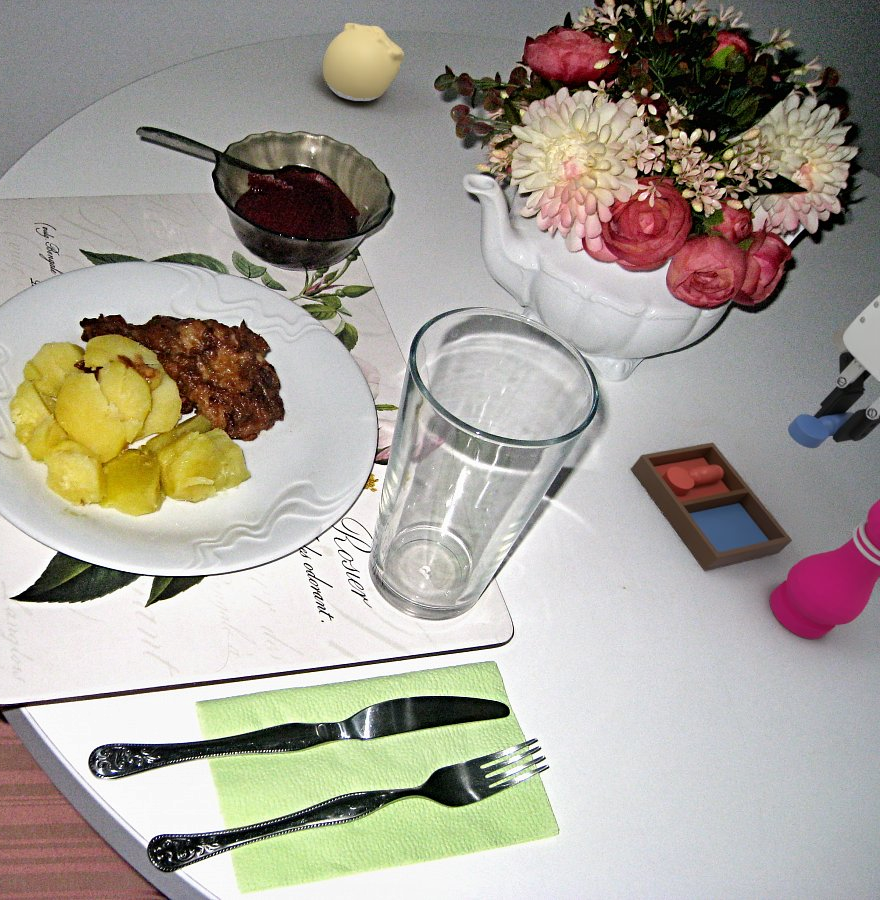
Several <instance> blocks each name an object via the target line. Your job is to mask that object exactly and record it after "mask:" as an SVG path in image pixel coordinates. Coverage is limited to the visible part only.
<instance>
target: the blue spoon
mask: <svg viewBox="0 0 880 900" xmlns="http://www.w3.org/2000/svg"><path fill="white" fill-rule="evenodd" d="M854 413H855V412H851V411H846V412H845V413H840V414H834V415H828V416H823V417H820V418H819V419H817V418H816V417H814V415H811V414H807V413H802V414H799V415H797V416H796V417H795V418H794V419H793V421H792V422H790V424H789V425H788V427H787V432H788V435H789V436H790V437H791V438H792V440H794V441H795V442H796V443H797V444H799V445H801V446H802V447H804V448H807V449H817V448H819V447H821V445H823V443H824V442H825V441H826V440H827V439H828V438H829V437H833V435H834V434H835V433H836V432H837V430H838V429H839V428H840V427H841V426H842V425H843V424H844V423H845V422H846V421H847V420H848V419H849V418H850V417H851V416H852V415H853V414H854Z"/></svg>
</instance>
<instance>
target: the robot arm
mask: <svg viewBox="0 0 880 900" xmlns="http://www.w3.org/2000/svg"><path fill="white" fill-rule="evenodd" d="M831 339H832V342H833V345H834V347H835V349H836V352H837V354H839V357H838V361H839V363H838V365H839V366H838V367H839V375H838V376H837V377H836V378H835V385H836V386H835V387H834V388H833V390H831V392H829V394H828V395H827V396H826V397H825V398H824V399H822V401H821V402H820V404H819V405H820V408H819V409H818V410H817V411H816V413H814V415H813V416H814V417H816V418H817V419H819V418H820V417H823V416H828V415H834V414H840V413H846V412H848V411H849V410H850V408H852V407H853V406H854V405H855V404H856V402H858V401H859V399H861V397H862V396H863V395H864V394H865V392H866V388H865V385H866V384H867V383H868V382H869V381H870V380H871V379H872V378H874V379H875V380H876V381H877V382H878V383H879V384H880V294H879V295H878V296H876V297H875V299H874V300H872V301H871V302H870V303H869V304H868V305H867V306H866V307H865V308H864V309H863V310H862V311H861V312H860V313H859V314H858V316H856V318H855V319H853V321H852V322H851V323H850V324H849V325H847V326H846V327H844V328H841V329H839V330H837V331H835V332H834V333H833V334H832V337H831ZM853 413H854V414H853V415H852V416H851V417H850V418H849V419H848V420H847V421H846V422H845V423H844V424H843V425H842V426H841V427H840V428H839V429H838V430H837V432H836V433H835V434H834V435H833V436H832V440H833V441H834V442H835V443H837V444H838V443H842V442H847V441H848V442H849V441H853V442H859V441H862V440H863V439H866V437H867V436H868V435H869V434H870V433H871V432H872V431H874V429H876V428H877V427H878V425H880V395H879V396H878V397H877V398H876V399H875V400H874V401H873V402H872V403H871V404H869V405H868V406H867V407H866V408H861V409H858V410H856V411H855V412H853Z"/></svg>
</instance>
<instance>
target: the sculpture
mask: <svg viewBox="0 0 880 900" xmlns="http://www.w3.org/2000/svg"><path fill="white" fill-rule="evenodd" d="M404 57H405V53H404V51H403V49H402V48H401V47H400V46H399V45H398V44H397V43H395V42H393V41H392V40H391V39H390V38H389V37H388V36H387V34H386V32H385V30H384V29H383V28H381V27H380V26H377V25H363V24H360V23H354V22H346V23H345V24H344V29H343V31H342V32H340V33H339V34H337V35H336V36H335V37H334V38H333V40H331V42H330V43H329V45H328V46H327V49H326V51H325V54H324V57H323V61H322V74H323V80H324V79H325V80H324V82H325V81H326V82H327V83H328V84H329V85H330V86H331V87H332V88H334V89H335V90H337V91H339V92H341V93H343V94H345V95H348V96H352V97H354V98H363V99H365V98H373V97H377V96H380V95H381V94H382V95H383V94H384V93H385V92H386V91H387V89H388V88H389V87H390V86H391V84H392V83H393V81H394V79H395V78H396V77H397V76H398V75H399V71H400V69H401V63H402V62H403V60H404ZM326 82H325V83H326ZM382 95H381V96H382ZM381 96H380V97H381Z"/></svg>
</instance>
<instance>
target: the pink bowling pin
mask: <svg viewBox="0 0 880 900" xmlns="http://www.w3.org/2000/svg"><path fill="white" fill-rule="evenodd" d="M879 578H880V498H879V499H877V500H876V501H875V502H874V503H873V504H872V505H871V506H870V508H869V510H868V513H867V517H866V519H864V520H862V521H861V522H860V524H858V525H857V526H855V527H854V528H853V530H852V537H851V538H850V539H849V540H848V541H846V542H845V543H844V544H843V545H841V546H840V547H838V548H836V549H833V550H828V551H825V552H824V551H823V552H820V553H815V554H811V555H809V556H806V557H804V558H802V559H800V560H799V561H798V562H796V563H795V564H793V565H792V566H791V568H790V569H789V571H788V573H787V576H786V580H783V581H782V582H781V583H780V584H779V585H778V586H777V587H776V588H774V589H773V590H772V592H771V593H770V596H769V604H770V608H771V611H772V613H773V615H774V616H775V618H776V619H777V620H778V621H779V623H780V624H781V625H782V626H783V627H784V628H786V629H787V630H788V631H790V632H791V633H792V634H794V635H797V636H798V637H801V638H804V639H809V640H815V639H822V638H823V637H824V636H826V635H827V634H828V633H830V632H831V631H832V630H834V628H835V627H836V626H842V625H843V626H844V625H848V624H850V623H852V622H853V621H855V619H857V618H858V617H859V616H860V615H861V614H862V613H863V611H864V610H865V609H866V607H867V606H868V603H869V601H870V599H871V595H872V594H873V590H874V588H875V586H876V583H877V582H878V580H879Z"/></svg>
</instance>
